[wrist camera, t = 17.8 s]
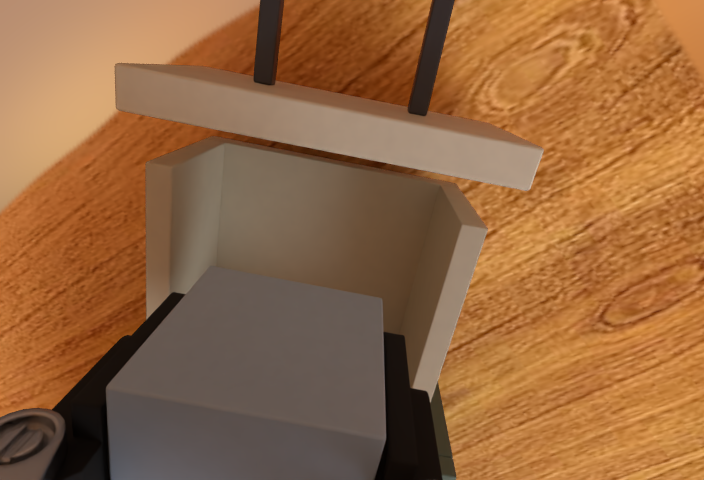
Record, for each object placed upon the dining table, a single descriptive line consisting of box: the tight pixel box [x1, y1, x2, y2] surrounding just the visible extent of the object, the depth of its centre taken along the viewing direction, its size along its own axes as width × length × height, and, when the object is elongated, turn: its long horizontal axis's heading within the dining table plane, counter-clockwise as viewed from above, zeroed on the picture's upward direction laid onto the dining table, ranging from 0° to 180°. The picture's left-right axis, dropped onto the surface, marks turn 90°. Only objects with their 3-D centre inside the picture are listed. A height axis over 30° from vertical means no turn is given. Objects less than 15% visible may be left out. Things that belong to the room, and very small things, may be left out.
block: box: [106, 266, 386, 480], centre depth 9 cm, size 4×4×4 cm
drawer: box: [115, 0, 544, 402], centre depth 15 cm, size 21×11×6 cm, turn 170°
